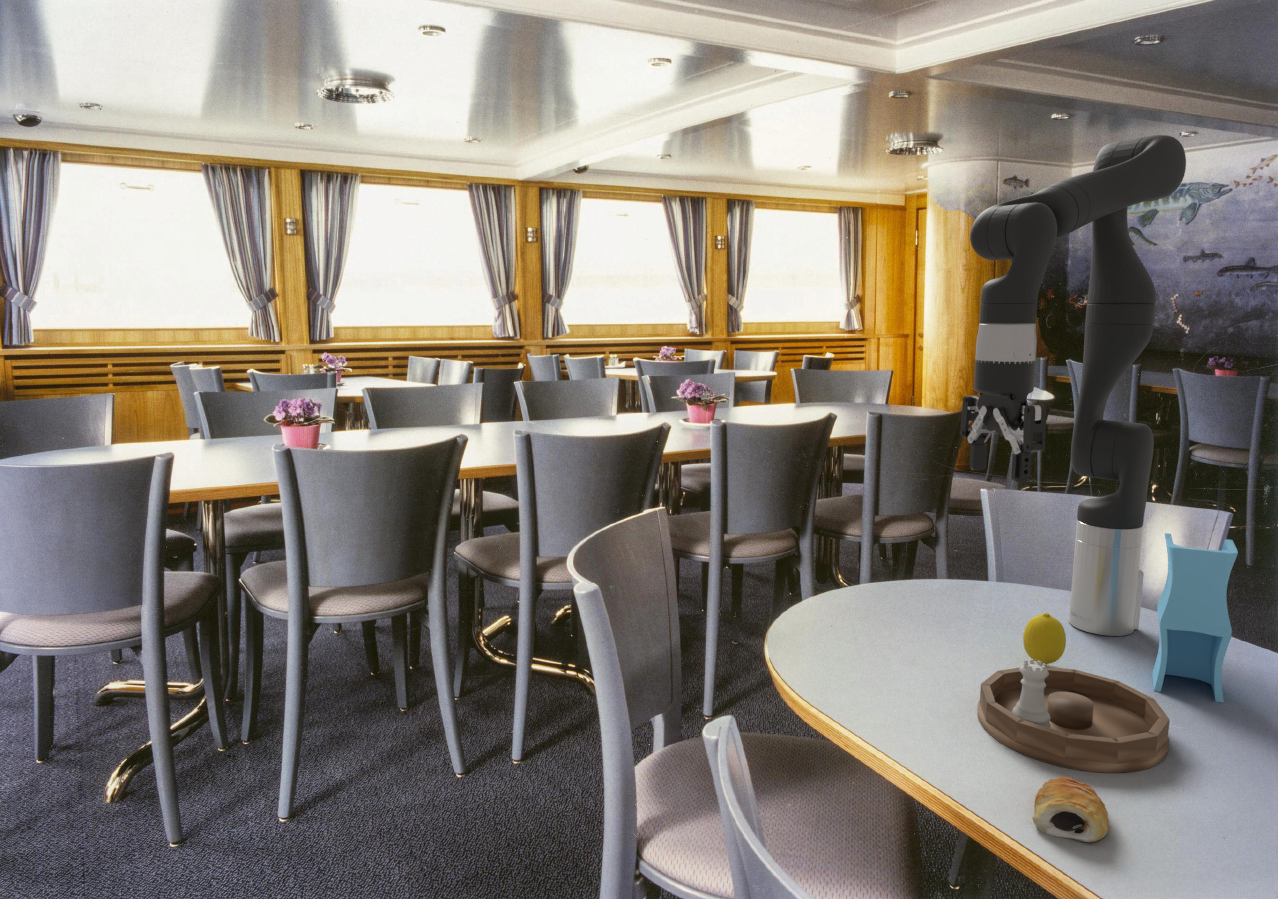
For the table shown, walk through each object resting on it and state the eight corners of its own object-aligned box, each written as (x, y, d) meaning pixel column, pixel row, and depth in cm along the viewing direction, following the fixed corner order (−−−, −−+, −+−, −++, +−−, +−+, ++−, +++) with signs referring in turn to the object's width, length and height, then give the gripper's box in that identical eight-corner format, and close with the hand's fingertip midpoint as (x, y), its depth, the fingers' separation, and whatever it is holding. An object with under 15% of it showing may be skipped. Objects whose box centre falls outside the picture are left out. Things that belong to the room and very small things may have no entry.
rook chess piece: (1048, 720, 106) (1052, 658, 105) (1053, 737, 102) (1057, 673, 101) (1008, 715, 108) (1012, 654, 106) (1011, 731, 104) (1016, 668, 102)
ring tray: (1074, 681, 120) (1076, 657, 119) (1212, 756, 100) (1215, 727, 99) (942, 701, 114) (944, 676, 113) (1061, 785, 94) (1064, 755, 93)
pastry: (1037, 787, 94) (1039, 754, 93) (1107, 803, 91) (1111, 770, 90) (1030, 833, 86) (1033, 798, 85) (1108, 853, 83) (1111, 816, 82)
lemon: (1068, 675, 121) (1072, 621, 120) (1026, 672, 123) (1030, 618, 121) (1058, 659, 127) (1061, 607, 125) (1017, 657, 128) (1021, 605, 127)
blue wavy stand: (1217, 679, 120) (1232, 539, 116) (1223, 702, 113) (1240, 554, 110) (1151, 668, 123) (1164, 532, 120) (1153, 690, 117) (1167, 546, 113)
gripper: (1067, 360, 111) (1058, 483, 114) (993, 354, 125) (986, 464, 127) (1018, 361, 109) (1010, 487, 112) (948, 355, 123) (942, 467, 125)
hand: (997, 475), depth 120 cm, fingers open, 8 cm apart
